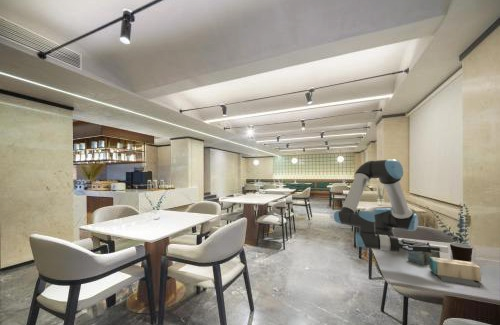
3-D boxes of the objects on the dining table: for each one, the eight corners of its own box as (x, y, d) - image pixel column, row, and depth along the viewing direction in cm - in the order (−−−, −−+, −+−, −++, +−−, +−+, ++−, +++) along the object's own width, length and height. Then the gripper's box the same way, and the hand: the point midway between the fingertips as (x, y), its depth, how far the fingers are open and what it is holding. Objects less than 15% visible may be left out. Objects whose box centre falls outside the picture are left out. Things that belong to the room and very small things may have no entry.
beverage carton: (407, 260, 116) (406, 248, 117) (424, 254, 125) (423, 243, 126) (424, 265, 109) (423, 252, 110) (440, 259, 118) (440, 247, 119)
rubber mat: (429, 266, 108) (429, 265, 108) (460, 271, 103) (460, 269, 103) (442, 281, 93) (442, 279, 93) (479, 286, 88) (479, 285, 88)
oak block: (429, 256, 104) (472, 262, 97) (430, 269, 104) (473, 275, 97) (434, 261, 99) (480, 267, 92) (434, 274, 98) (481, 281, 92)
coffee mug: (469, 269, 105) (467, 248, 106) (447, 262, 113) (446, 243, 113) (480, 265, 110) (478, 245, 110) (458, 259, 117) (457, 241, 118)
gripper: (386, 246, 114) (442, 253, 105) (391, 254, 103) (454, 262, 93) (386, 232, 115) (441, 237, 105) (391, 239, 103) (453, 245, 93)
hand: (447, 249), depth 99 cm, fingers closed
